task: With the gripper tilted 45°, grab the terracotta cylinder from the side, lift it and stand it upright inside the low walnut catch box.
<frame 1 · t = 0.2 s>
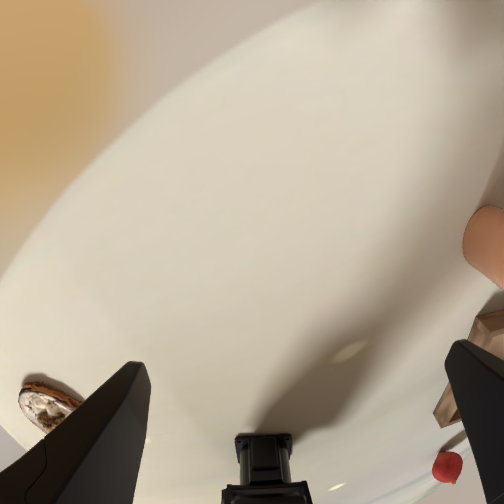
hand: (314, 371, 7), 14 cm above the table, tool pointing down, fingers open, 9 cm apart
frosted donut: (63, 411, 30), on the table
onion: (440, 451, 38), on the table
terracotta cylinder: (484, 236, 22), on the table
catch box: (490, 359, 28), on the table
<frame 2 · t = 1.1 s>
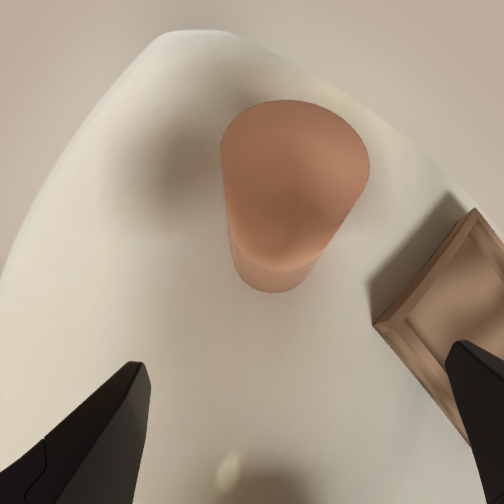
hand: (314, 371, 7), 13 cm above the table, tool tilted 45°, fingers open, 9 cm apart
terracotta cylinder: (273, 253, 23), on the table
catch box: (474, 333, 21), on the table
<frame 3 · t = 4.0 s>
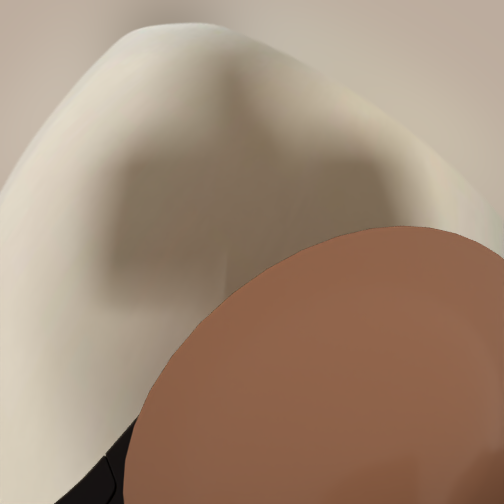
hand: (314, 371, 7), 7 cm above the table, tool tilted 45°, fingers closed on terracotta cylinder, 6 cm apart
terracotta cylinder: (285, 397, 13), on the table, touching gripper
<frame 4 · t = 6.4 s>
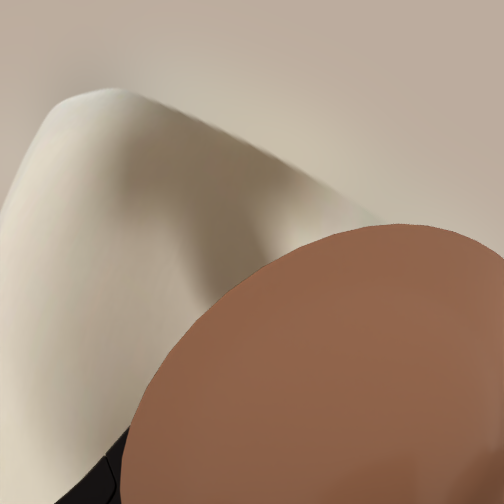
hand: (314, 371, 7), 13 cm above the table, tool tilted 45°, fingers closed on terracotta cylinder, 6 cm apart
terracotta cylinder: (284, 396, 13), point 7 cm above the table, touching gripper
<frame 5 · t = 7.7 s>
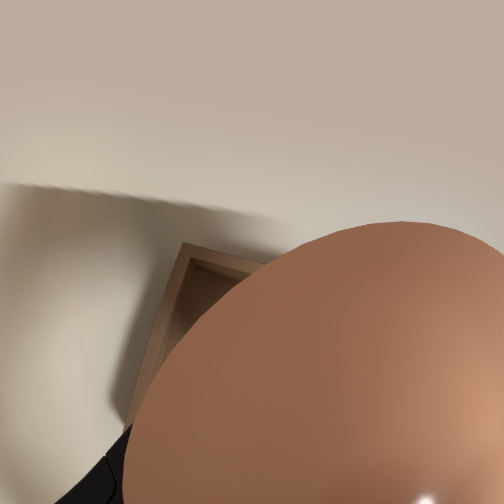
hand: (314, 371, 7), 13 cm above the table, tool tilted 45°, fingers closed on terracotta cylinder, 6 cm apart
terracotta cylinder: (285, 396, 13), point 6 cm above the table, touching gripper
catch box: (273, 385, 19), on the table
when the fingers open (8 cm above the table, at t = 9.0 s): terracotta cylinder drops 1 cm, resting on catch box.
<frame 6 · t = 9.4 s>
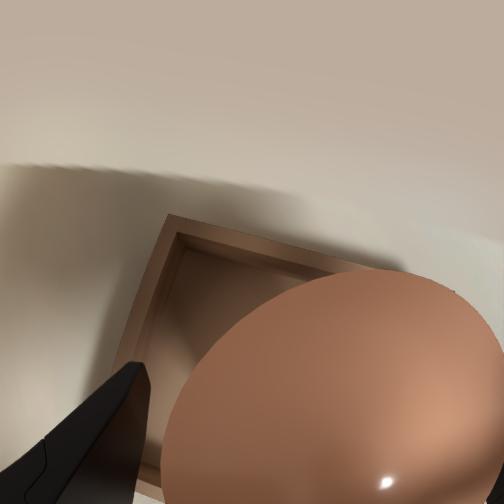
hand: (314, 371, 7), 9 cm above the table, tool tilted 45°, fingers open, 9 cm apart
terracotta cylinder: (282, 394, 14), point 1 cm above the table, touching catch box
catch box: (280, 393, 15), on the table
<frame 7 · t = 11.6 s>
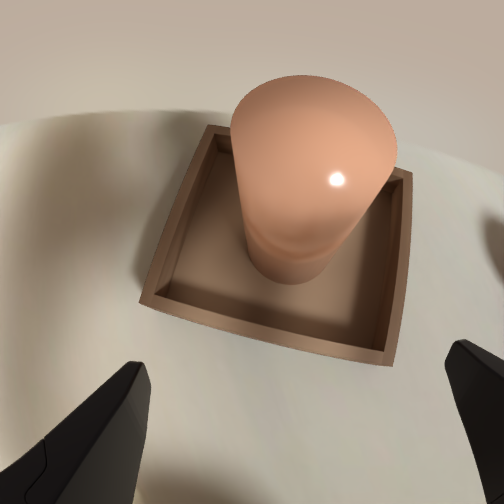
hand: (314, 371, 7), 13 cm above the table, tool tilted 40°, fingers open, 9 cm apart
terracotta cylinder: (290, 242, 21), point 1 cm above the table, touching catch box
catch box: (289, 245, 22), on the table
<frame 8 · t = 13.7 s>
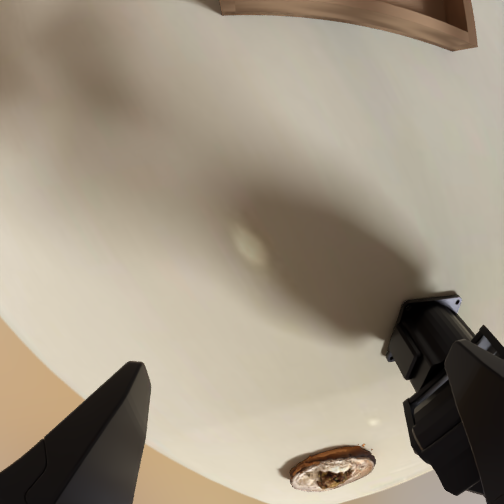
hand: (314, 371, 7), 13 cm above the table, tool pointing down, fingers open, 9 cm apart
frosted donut: (331, 462, 35), on the table
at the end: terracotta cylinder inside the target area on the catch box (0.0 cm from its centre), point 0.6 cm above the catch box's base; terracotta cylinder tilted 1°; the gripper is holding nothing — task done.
